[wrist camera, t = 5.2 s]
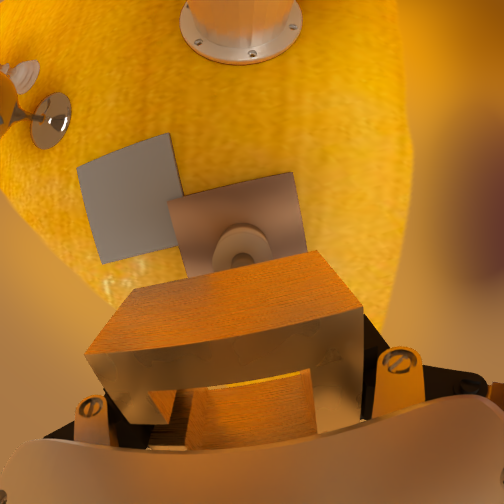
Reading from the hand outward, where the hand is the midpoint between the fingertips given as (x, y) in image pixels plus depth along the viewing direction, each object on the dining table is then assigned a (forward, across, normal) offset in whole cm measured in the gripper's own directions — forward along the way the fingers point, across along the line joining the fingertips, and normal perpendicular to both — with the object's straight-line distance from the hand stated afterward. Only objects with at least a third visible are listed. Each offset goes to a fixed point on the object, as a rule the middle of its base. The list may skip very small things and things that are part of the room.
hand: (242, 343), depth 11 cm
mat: (+18, +10, -6) cm, 21 cm away
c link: (0, 0, 0) cm, 0 cm away
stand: (+17, 0, +1) cm, 17 cm away
